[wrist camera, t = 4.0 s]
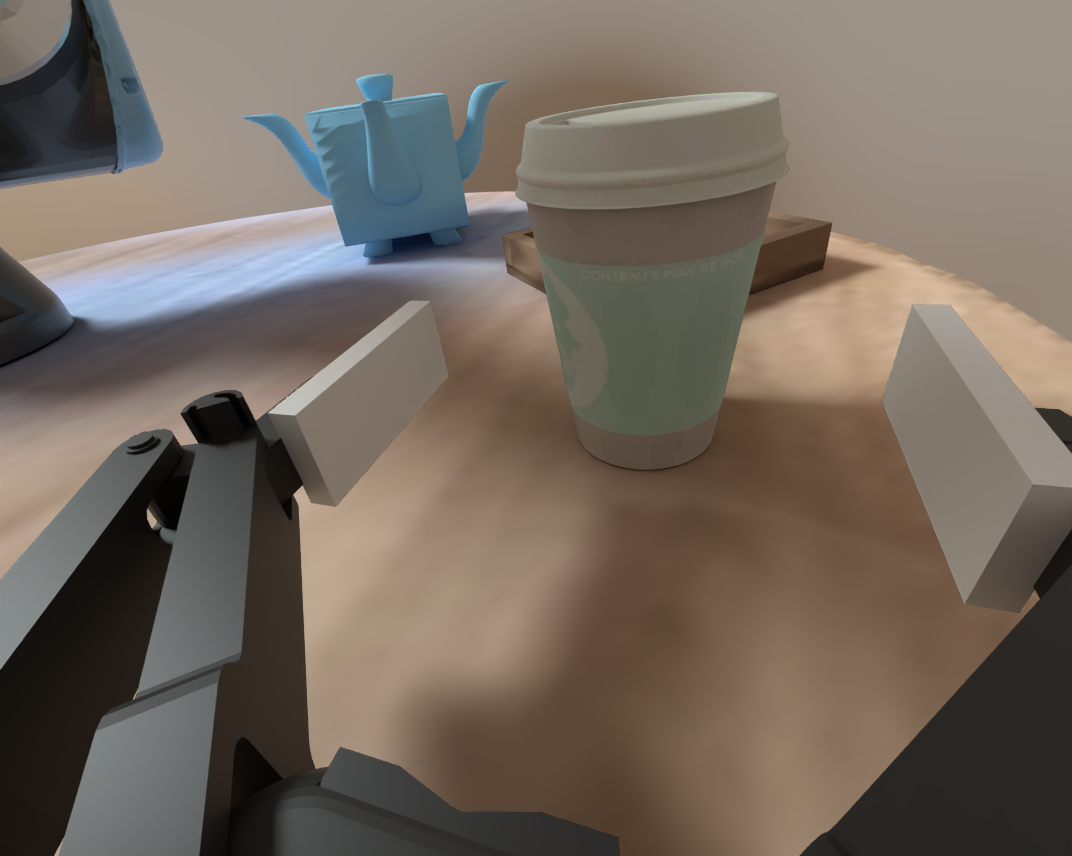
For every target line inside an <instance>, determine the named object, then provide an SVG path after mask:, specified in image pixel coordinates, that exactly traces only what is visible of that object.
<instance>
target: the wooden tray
mask: <svg viewBox="0 0 1072 856" xmlns="http://www.w3.org/2000/svg"><path fill="white" fill-rule="evenodd" d="M831 227H832V223H831V222H825V221H820V220H814V219H808V218H803V217H797V216H791V215H786V214H780V213H774V212H769V214H768V218H767V222H766V226H765V231H764V235H763V239H762V243H761V247H760V251H759V255H758V259H757V263H756V267H755V271H754V275H753V279H752V283H751V287H750V291H749V294H752V293H755V292H758V291H761V290H763V289H766V288H769V287H772V286H775V285H777V284H780V283H783V282H786V281H789V280H792V279H794V278H797V277H800V276H803V275H806V274H809V273H811V272H814V271H817V270H820V269H823V266H824V262H825V257H826V252H827V247H828V242H829V237H830V232H831ZM502 239H503V246H504V253H505V260H506V267H507V273H509V274H511V275H513V276H515V277H516V278H518V279H520V280H522V281H524V282H526V283H527V284H529V285H531V286H533V287H535V288H537V289H538V290H540V291H542V292H544V293H546V290H545V286H544V281H543V277H542V272H541V267H540V263H539V258H538V254H537V249H536V245H535V240H534V235H533V230H532V228H528V229H524V230H520V231H516V232H512V233H508V234H504V235H502Z"/></svg>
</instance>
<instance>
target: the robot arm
mask: <svg viewBox="0 0 1072 856" xmlns="http://www.w3.org/2000/svg"><path fill="white" fill-rule="evenodd" d="M162 152H163V143H162V139H161V135H160V132H159V130H158V127H157V124H156V121H155V119H154V116H153V113H152V111H151V108H150V105H149V103H148V100H147V97H146V95H145V92H144V89H143V87H142V84H141V81H140V79H139V76H138V73H137V71H136V68H135V66H134V63H133V60H132V58H131V55H130V52H129V50H128V47H127V45H126V43H125V40H124V37H123V35H122V32H121V29H120V27H119V24H118V21H117V19H116V16H115V14H114V11H113V9H112V6H111V4H110V1H109V0H0V189H4V188H10V187H15V186H23V185H29V184H36V183H43V182H49V181H56V180H64V179H70V178H78V177H85V176H92V175H99V174H106V173H112V174H116V173H121V172H122V171H123V170H124V169H128V168H132V167H137V166H142V165H147V164H151V163H153V162H155V161H157V160H158V159H159V158H160V156H161V154H162ZM73 322H74V320H73V318H72V316H71V315H70V313H69V312H68V310H67V309H66V307H65V306H64V304H63V303H62V301H61V300H60V298H59V297H58V296H57V295H56V294H55V293H54V292H53V291H52V290H50V289H49V288H48V287H47V286H46V285H45V284H43V283H42V282H41V281H40V280H39V279H37V278H36V277H35V276H34V275H33V274H32V273H30V272H29V271H28V270H27V269H26V268H24V267H23V266H22V265H21V264H20V263H18V262H17V261H16V260H15V259H14V258H13V257H11V256H10V255H9V254H8V253H7V252H5V251H4V250H3V249H2V248H1V247H0V365H1V364H3V363H6V362H8V361H11V360H13V359H15V358H18V357H20V356H22V355H25V354H27V353H29V352H31V351H33V350H35V349H37V348H39V347H41V346H43V345H45V344H47V343H49V342H51V341H52V340H54V339H56V338H57V337H59V336H60V335H62V334H63V333H65V332H66V331H67V330H68V329H69V328H70V327H71V326H72V324H73ZM448 376H449V375H448V371H447V367H446V363H445V359H444V354H443V350H442V346H441V342H440V338H439V333H438V329H437V325H436V321H435V316H434V312H433V308H432V304H431V301H409V302H407V303H406V304H405V305H404V306H402V307H401V308H400V309H399V310H397V311H396V312H395V313H394V314H392V315H391V316H390V317H388V318H387V319H386V320H385V321H383V322H382V323H381V324H380V325H378V326H377V327H376V328H375V329H373V330H372V331H371V332H369V333H368V334H367V335H366V336H364V337H363V338H362V339H361V340H359V341H358V342H357V343H356V344H354V345H353V346H352V347H350V348H349V349H348V350H347V351H345V352H344V353H343V354H342V355H340V356H339V357H338V358H337V359H335V360H334V361H333V362H331V363H330V364H329V365H328V366H326V367H325V368H324V369H323V370H321V371H320V372H319V373H318V374H316V375H315V376H313V377H311V378H310V379H308V380H307V381H306V382H305V383H303V384H302V385H301V386H300V387H298V389H297V390H294V391H293V392H292V393H291V394H289V395H288V397H287V398H284V399H283V400H282V401H280V402H279V403H278V404H277V405H275V406H274V407H273V408H272V409H270V410H269V411H268V412H266V413H265V414H264V415H263V416H261V417H260V418H259V419H258V420H256V421H255V419H254V417H253V415H252V413H251V411H250V409H249V407H248V405H247V403H246V401H245V399H244V397H243V395H242V393H241V392H239V391H236V390H225V391H220V392H215V393H212V394H209V395H206V396H203V397H201V398H199V399H197V400H195V401H193V402H192V403H190V404H189V405H188V406H186V407H185V408H184V409H183V411H182V412H181V415H182V417H183V419H184V420H185V422H186V424H187V425H188V427H189V429H190V430H191V432H192V434H193V435H194V437H195V439H196V440H197V442H198V444H191V445H182V446H180V444H179V442H178V441H177V439H176V438H175V436H174V434H173V433H172V431H170V430H166V429H161V430H153V431H149V432H142V433H139V435H135V436H132V437H131V438H130V439H129V440H127V441H126V442H124V443H122V444H121V445H120V446H119V447H117V448H116V449H115V450H114V451H113V452H112V453H111V454H110V456H109V457H108V458H107V459H106V460H105V461H104V462H103V464H102V465H101V466H100V467H99V468H98V469H97V470H96V471H95V473H94V474H93V475H92V476H91V477H90V478H89V479H88V481H87V482H86V483H85V484H84V485H83V486H82V487H81V489H80V490H79V491H78V492H77V493H76V494H75V495H74V496H73V498H72V499H71V500H70V501H69V502H68V503H67V504H66V506H65V507H64V508H63V509H62V510H61V511H60V512H59V514H58V515H57V516H56V517H55V518H54V519H53V520H52V521H51V523H50V524H49V525H48V526H47V527H46V528H45V529H44V531H43V532H42V533H41V534H40V535H39V536H38V537H37V539H36V540H35V541H34V542H33V543H32V544H31V545H30V546H29V548H28V549H27V550H26V551H25V552H24V553H23V554H22V556H21V557H20V558H19V559H18V560H17V561H16V562H15V563H14V565H13V566H12V567H11V568H10V569H9V570H8V571H7V573H6V574H5V575H4V576H3V577H2V578H1V579H0V856H54V855H55V853H56V851H57V849H58V847H59V845H60V844H61V842H62V840H63V838H64V840H63V843H62V847H61V850H60V853H59V856H620V849H619V837H616V836H612V835H609V834H606V833H603V832H600V831H597V830H594V829H591V828H588V827H585V826H582V825H579V824H576V823H573V822H569V821H566V820H563V819H560V818H557V817H554V816H551V815H548V814H545V813H542V812H463V811H459V810H456V809H454V808H453V807H451V806H450V805H449V804H448V803H446V802H445V801H444V800H442V799H441V798H440V797H439V796H437V795H436V794H435V793H433V792H432V791H431V790H430V789H428V788H427V787H426V786H424V785H423V784H422V783H421V782H419V781H418V780H417V779H415V778H414V777H413V776H412V775H410V774H409V773H408V772H406V771H405V770H404V769H403V768H401V767H400V766H398V765H394V764H391V763H388V762H385V761H382V760H379V759H376V758H373V757H370V756H367V755H364V754H361V753H358V752H355V751H352V750H348V749H345V748H342V747H340V748H339V750H338V751H337V753H336V755H335V757H334V759H333V760H332V762H331V764H330V766H329V767H325V768H319V769H316V768H315V766H314V763H313V760H312V756H311V752H310V746H309V731H308V708H307V686H306V664H305V641H304V619H303V596H302V574H301V551H300V529H299V506H298V504H297V501H296V499H295V497H294V495H293V494H294V493H295V492H296V491H297V490H298V489H299V488H300V487H301V486H302V485H303V487H304V489H305V491H306V493H307V495H308V497H309V499H310V501H311V503H315V504H322V505H328V506H335V507H336V506H337V505H338V504H339V503H340V502H341V500H342V499H343V498H344V497H345V496H346V495H347V494H348V492H349V491H350V490H351V489H352V488H353V487H354V485H355V484H356V483H357V482H358V481H359V480H360V478H361V477H362V476H363V475H364V474H365V473H366V471H367V470H368V469H369V468H370V467H371V466H372V465H373V463H374V462H375V461H376V460H377V459H378V458H379V456H380V455H381V454H382V453H383V452H384V451H385V449H386V448H387V447H388V446H389V445H390V444H391V443H392V441H393V440H394V439H395V438H396V437H397V436H398V434H399V433H400V432H401V431H402V430H403V429H404V427H405V426H406V425H407V424H408V423H409V422H410V420H411V419H412V418H413V417H414V416H415V415H416V414H417V412H418V411H419V410H420V409H421V408H422V407H423V405H424V404H425V403H426V402H427V401H428V400H429V398H430V397H431V396H432V395H433V394H434V393H435V392H436V390H437V389H438V388H439V387H440V386H441V385H442V383H443V382H444V381H445V380H446V379H447V378H448ZM882 403H883V405H884V408H885V410H886V413H887V415H888V418H889V420H890V423H891V425H892V427H893V430H894V432H895V435H896V437H897V440H898V442H899V445H900V447H901V450H902V452H903V455H904V457H905V459H906V462H907V464H908V467H909V469H910V472H911V474H912V477H913V479H914V482H915V484H916V487H917V489H918V491H919V494H920V496H921V499H922V501H923V504H924V506H925V509H926V511H927V514H928V516H929V519H930V521H931V523H932V526H933V528H934V531H935V533H936V536H937V538H938V541H939V543H940V546H941V548H942V550H943V553H944V555H945V558H946V560H947V563H948V565H949V568H950V570H951V573H952V575H953V578H954V580H955V582H956V585H957V587H958V590H959V592H960V595H961V597H962V600H963V602H964V604H966V605H973V606H979V607H985V608H992V609H998V610H1005V611H1011V612H1018V613H1019V612H1020V610H1021V609H1022V607H1023V606H1024V604H1025V603H1026V601H1027V600H1028V599H1029V597H1030V596H1031V594H1032V593H1033V591H1034V590H1036V592H1037V594H1038V596H1039V598H1040V600H1039V601H1038V602H1037V603H1036V604H1035V605H1034V607H1033V608H1032V609H1031V610H1030V611H1029V612H1028V613H1027V614H1026V615H1025V616H1024V618H1023V619H1022V620H1021V621H1020V622H1019V623H1018V624H1017V625H1016V626H1015V628H1014V629H1013V630H1012V631H1011V632H1010V633H1009V634H1008V635H1007V636H1006V637H1005V639H1004V640H1003V641H1002V642H1001V643H1000V644H999V645H998V646H997V647H996V649H995V650H994V651H993V652H992V653H991V654H990V655H989V656H988V657H987V658H986V660H985V661H984V662H983V663H982V664H981V665H980V666H979V667H978V668H977V669H976V671H975V672H974V673H973V674H972V675H971V676H970V677H969V678H968V679H967V681H966V682H965V683H964V684H963V685H962V686H961V687H960V688H959V689H958V690H957V692H956V693H955V694H954V695H953V696H952V697H951V698H950V699H949V700H948V701H947V703H946V704H945V705H944V706H943V707H942V708H941V709H940V710H939V711H938V713H937V714H936V715H935V716H934V717H933V718H932V719H931V720H930V721H929V722H928V724H927V725H926V726H925V727H924V728H923V729H922V730H921V731H920V732H919V733H918V735H917V736H916V737H915V738H914V739H913V740H912V741H911V742H910V743H909V745H908V746H907V747H906V748H905V749H904V750H903V751H902V752H901V753H900V754H899V756H898V757H897V758H896V759H895V760H894V761H893V762H892V763H891V764H890V766H889V767H888V768H887V769H886V770H885V771H884V772H883V773H882V774H881V775H880V777H879V778H878V779H877V780H876V781H875V782H874V783H873V784H872V785H871V786H870V788H869V789H868V790H867V791H866V792H865V793H864V794H863V795H862V796H861V798H860V799H859V800H858V801H857V802H856V803H855V804H854V805H853V806H852V807H851V809H850V810H849V811H848V812H847V813H846V814H845V815H844V816H843V817H842V818H841V820H840V821H839V822H838V823H837V824H836V825H835V826H834V827H833V828H832V829H831V830H829V831H828V832H826V833H823V834H821V835H820V836H819V837H818V838H817V839H816V840H815V841H813V842H812V843H811V844H810V845H809V846H808V847H807V848H806V849H805V850H804V851H803V853H802V854H801V855H800V856H1072V417H1071V416H1070V415H1068V414H1066V413H1064V412H1063V411H1061V410H1059V409H1045V408H1034V407H1033V406H1032V404H1031V403H1030V402H1029V401H1028V400H1027V398H1026V397H1025V396H1024V395H1023V393H1022V392H1021V391H1020V390H1019V389H1018V387H1017V386H1016V385H1015V384H1014V382H1013V381H1012V380H1011V379H1010V378H1009V376H1008V375H1007V374H1006V373H1005V371H1004V370H1003V369H1002V368H1001V366H1000V365H999V364H998V363H997V362H996V360H995V359H994V358H993V357H992V355H991V354H990V353H989V352H988V351H987V349H986V348H985V347H984V346H983V344H982V343H981V342H980V341H979V340H978V338H977V337H976V336H975V335H974V333H973V332H972V331H971V330H970V329H969V327H968V326H967V325H966V324H965V322H964V321H963V320H962V319H961V318H960V316H959V315H958V314H957V313H956V311H955V310H954V309H953V308H952V307H951V305H923V304H912V307H911V310H910V313H909V316H908V319H907V322H906V326H905V329H904V332H903V335H902V338H901V342H900V345H899V348H898V351H897V354H896V357H895V361H894V364H893V367H892V370H891V373H890V376H889V380H888V383H887V386H886V389H885V392H884V395H883V399H882ZM147 508H148V509H149V511H150V512H151V513H152V515H153V516H154V518H155V519H156V520H157V523H156V524H155V526H154V528H153V529H152V528H151V527H150V524H149V522H148V520H147ZM137 689H138V691H137ZM136 691H137V694H136V697H135V699H134V700H132V699H133V697H134V695H135V693H136ZM64 836H65V837H64Z"/></svg>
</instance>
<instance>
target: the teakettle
mask: <svg viewBox="0 0 1072 856" xmlns="http://www.w3.org/2000/svg"><path fill="white" fill-rule="evenodd" d="M508 81H509V80H505V81H499V82H494V83H488V84H483V85H479V86H478V87H477V88H476V89H475V90H474V92H473V94H472V96H471V98H470V101H469V106H468V113H467V121H466V126H465V130H464V132H463V134H462V136H461V137H460V139H459V140H458V141H457V142H455V139H454V134H453V128H452V123H451V117H450V111H449V106H448V100H447V97H446V95H445V94H443V93H434V94H426V95H419V96H412V97H405V98H398V99H392V86H393V76H392V75H390V74H376V75H369V76H364V77H360V78H358V79H357V80H356V82H357V84H358V86H359V88H360V90H361V91H362V93H363V95H364V96H365V98H366V100H367V101H365V102H361V104H355V105H348V106H340V107H333V108H327V109H322V110H318V111H314V112H310V113H306V114H305V120H306V123H307V126H308V130H309V133H310V136H311V139H312V142H313V145H314V149H315V152H316V155H317V156H316V155H315V154H314V153H313V152H312V151H311V150H310V148H309V147H308V146H307V144H306V143H305V142H304V140H303V139H302V137H301V136H300V134H299V133H298V131H297V130H296V129H295V128H294V126H293V125H292V124H291V123H290V122H289V121H287V120H286V119H285V118H283V117H282V116H280V115H278V114H265V115H256V116H247V117H243V118H244V119H247V120H250V121H253V122H255V123H258V124H260V125H263V126H264V127H266V128H267V129H268V130H270V131H271V132H273V133H274V134H275V135H276V136H277V137H278V139H279V140H280V141H281V142H282V143H283V145H284V146H285V147H286V149H287V150H288V152H289V153H290V155H291V156H292V158H293V160H294V161H295V163H296V165H297V166H298V168H299V169H300V171H301V172H302V174H303V175H304V177H305V178H306V179H307V181H308V182H309V183H310V184H311V185H312V187H314V188H315V189H316V190H317V191H318V192H319V193H321V194H323V195H324V196H327V197H328V198H330V199H331V202H332V206H333V209H334V212H335V215H336V218H337V221H338V225H339V228H340V231H341V234H342V237H343V240H344V244H345V246H352V245H358V244H364V243H366V245H365V250H364V254H363V256H364V257H378V256H382V255H386V254H388V253H390V252H392V239H394V238H400V237H406V236H412V235H418V234H424V233H429V234H430V236H431V238H432V241H433V243H434V244H435V245H449V244H453V243H457V242H459V241H461V240H462V238H461V237H460V235H459V234H458V232H457V231H456V230H455V228H460V227H466V226H470V223H469V218H468V212H467V207H466V201H465V195H464V191H463V184H462V181H464V180H465V179H467V178H468V177H469V176H470V175H471V174H472V172H473V171H474V170H475V168H476V166H477V164H478V161H479V159H480V155H481V150H482V143H483V133H484V122H485V117H486V111H487V108H488V105H489V102H490V100H491V98H492V97H493V96H494V94H495V92H497V91H498V90H499V89H500V88H501V87H502V86H503V85H504V84H506V83H507V82H508Z"/></svg>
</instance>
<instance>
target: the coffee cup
mask: <svg viewBox="0 0 1072 856" xmlns="http://www.w3.org/2000/svg"><path fill="white" fill-rule="evenodd" d="M788 148H789V143H788V141H787V139H785V137H783V132H782V123H781V116H780V106H779V98H778V95H776V94H773V93H768V92H732V93H716V94H701V95H691V96H680V97H669V98H660V99H651V100H643V101H635V102H628V103H621V104H613V105H606V106H599V107H593V108H587V109H581V110H575V111H570V112H565V113H559V114H555V115H550V116H546V117H542V118H539V119H536V120H533V121H531V122H529V123H527V124H526V127H525V135H524V143H523V151H522V160H521V163H520V164H519V166H518V167H517V170H516V174H517V177H518V178H519V182H518V189H517V190H516V192H515V194H516V196H517V197H518V198H519V199H520V200H522V201H524V202H526V203H527V207H528V212H529V216H530V221H531V226H532V230H533V235H534V240H535V245H536V249H537V254H538V258H539V263H540V267H541V272H542V277H543V281H544V286H545V290H546V295H547V299H548V304H549V308H550V313H551V317H552V322H553V326H554V331H555V336H556V340H557V345H558V349H559V354H560V358H561V363H562V367H563V372H564V376H565V381H566V385H567V390H568V394H569V399H570V403H571V408H572V412H573V416H574V421H575V425H576V429H577V434H578V438H579V440H580V442H581V444H582V445H583V447H584V448H585V449H586V450H587V451H588V452H589V453H591V454H592V455H593V456H595V457H596V458H598V459H600V460H602V461H604V462H607V463H609V464H612V465H615V466H619V467H624V468H629V469H638V470H654V469H663V468H669V467H673V466H677V465H680V464H683V463H686V462H688V461H690V460H692V459H694V458H695V457H697V456H699V455H700V454H701V453H702V452H704V451H705V450H706V449H707V447H708V446H709V445H710V443H711V441H712V439H713V435H714V431H715V428H716V424H717V420H718V416H719V412H720V408H721V404H722V400H723V396H724V392H725V388H726V384H727V380H728V376H729V372H730V368H731V364H732V360H733V356H734V352H735V348H736V344H737V340H738V336H739V332H740V328H741V324H742V320H743V316H744V312H745V308H746V304H747V299H748V295H749V291H750V287H751V283H752V279H753V275H754V271H755V267H756V263H757V259H758V255H759V251H760V247H761V243H762V239H763V235H764V231H765V226H766V222H767V218H768V214H769V210H770V206H771V201H772V197H773V193H774V189H775V185H776V181H777V180H779V179H781V178H783V177H784V176H785V175H786V174H787V173H788V172H789V170H790V168H789V166H788V165H787V162H786V152H787V150H788Z"/></svg>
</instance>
